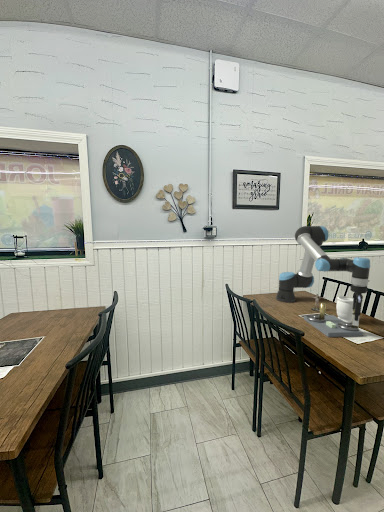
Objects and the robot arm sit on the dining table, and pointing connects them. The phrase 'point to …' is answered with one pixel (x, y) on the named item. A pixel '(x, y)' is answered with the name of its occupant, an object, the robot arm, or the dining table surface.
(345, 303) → the jar
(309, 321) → the plate
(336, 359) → the dining table surface
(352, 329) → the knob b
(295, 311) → the dining table surface
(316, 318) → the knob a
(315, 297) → the figurine
